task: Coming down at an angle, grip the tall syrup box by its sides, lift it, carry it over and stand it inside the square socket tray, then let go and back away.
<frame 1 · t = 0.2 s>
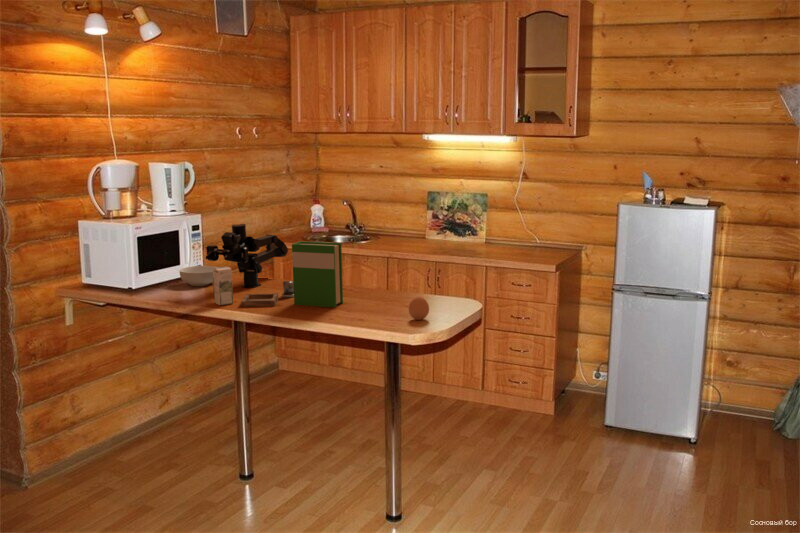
hand: (215, 258, 314), 17 cm above the counter, fingers open, 9 cm apart
cereal bowl: (200, 284, 346), on the counter
egg: (418, 320, 280), on the counter
hardback book: (318, 304, 306), on the counter
socket tray: (260, 302, 309), on the counter
syrup box: (223, 304, 309), on the counter
chuck post: (289, 296, 320), on the counter
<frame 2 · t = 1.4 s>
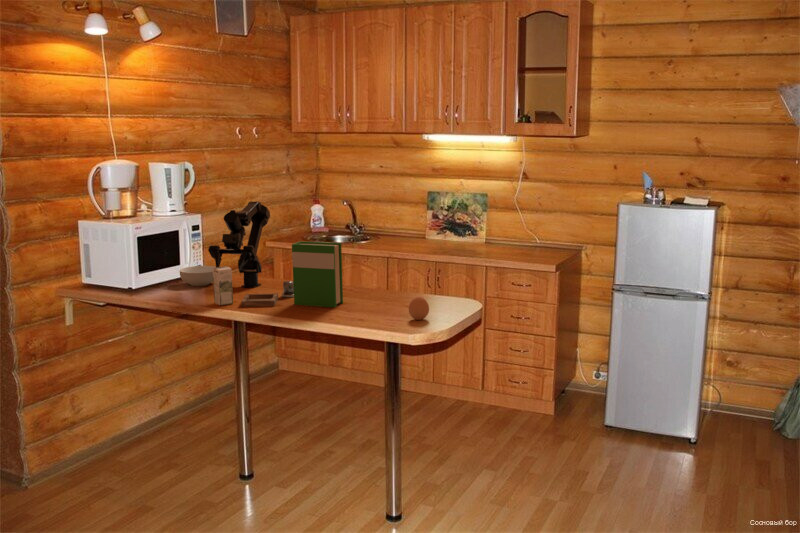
hand: (227, 269, 312), 13 cm above the counter, fingers open, 9 cm apart
nothing on the counter moved.
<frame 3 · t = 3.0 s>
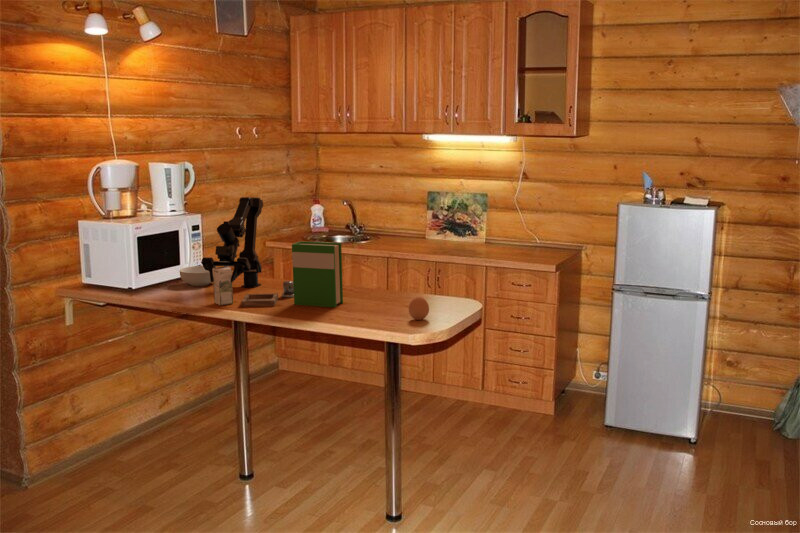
hand: (221, 281, 305), 9 cm above the counter, fingers closed on syrup box, 8 cm apart
syrup box: (223, 304, 308), on the counter, touching gripper
everything else where it was.
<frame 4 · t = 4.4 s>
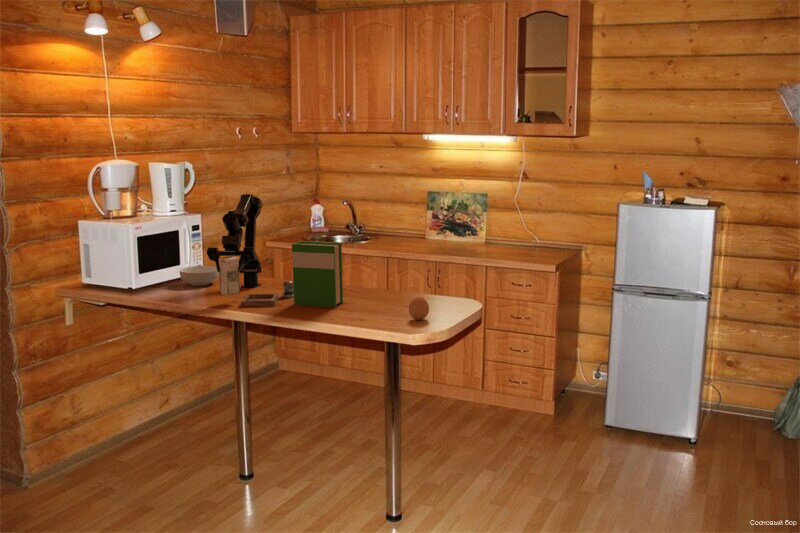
hand: (228, 271, 304), 13 cm above the counter, fingers closed on syrup box, 8 cm apart
syrup box: (230, 294, 308), point 4 cm above the counter, touching gripper
everything else where it was.
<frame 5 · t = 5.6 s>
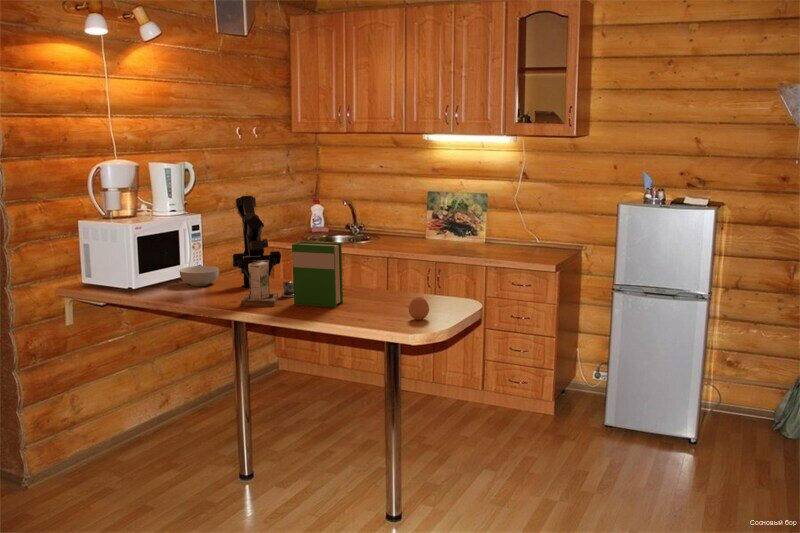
hand: (259, 276, 306), 11 cm above the counter, fingers closed on syrup box, 8 cm apart
syrup box: (260, 298, 309), point 2 cm above the counter, touching gripper
everything else where it was.
when the fingers open (11 cm above the counter, at t = 6.2 s): syrup box stays where it is, resting on socket tray.
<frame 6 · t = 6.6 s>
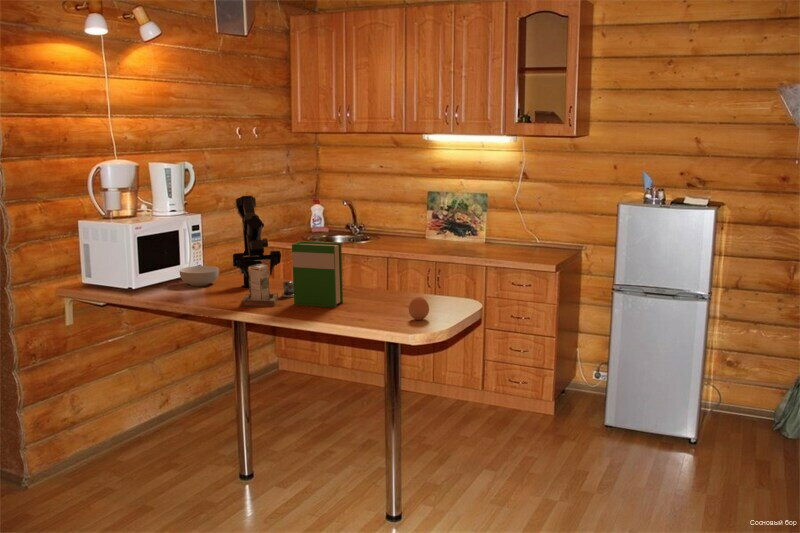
hand: (259, 275, 306), 11 cm above the counter, fingers open, 9 cm apart
syrup box: (260, 301, 309), resting on socket tray
everything else where it was.
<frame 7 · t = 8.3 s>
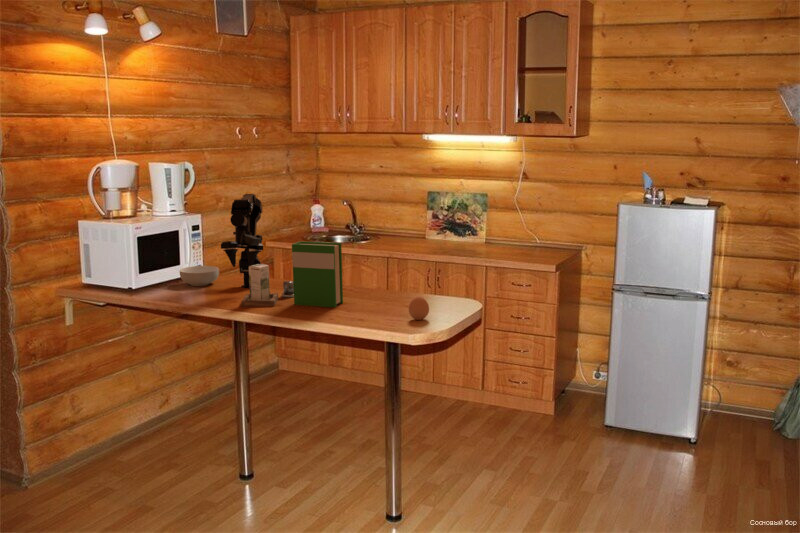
hand: (242, 267, 321), 12 cm above the counter, fingers open, 9 cm apart
nothing on the counter moved.
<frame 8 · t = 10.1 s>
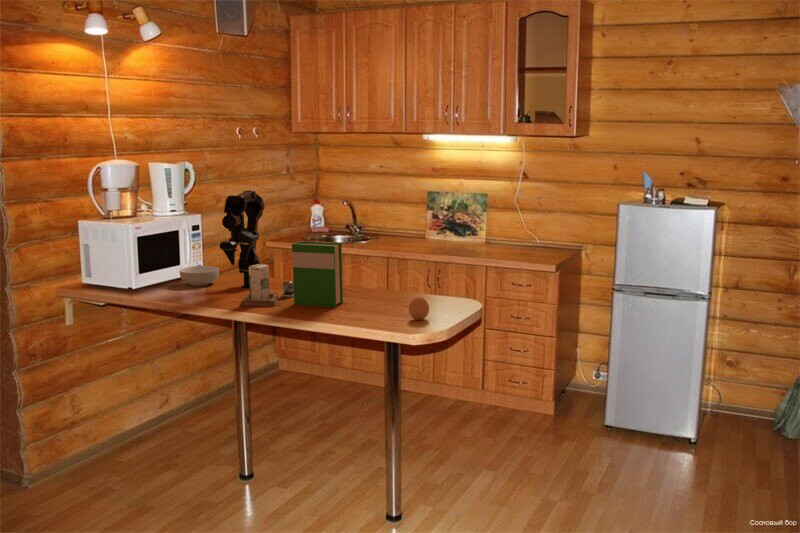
hand: (239, 263, 324), 13 cm above the counter, fingers open, 9 cm apart
nothing on the counter moved.
at the end: syrup box inside the target area on the socket tray (0.2 cm from its centre), point 0.4 cm above the socket tray's base; syrup box tilted 0°; the gripper is holding nothing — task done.
